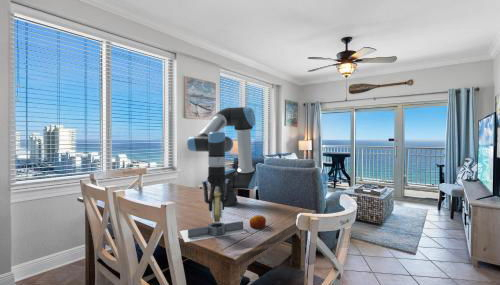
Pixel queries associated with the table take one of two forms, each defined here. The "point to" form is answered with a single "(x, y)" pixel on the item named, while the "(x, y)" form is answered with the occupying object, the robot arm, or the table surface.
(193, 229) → the gray bar with ring
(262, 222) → the fruit
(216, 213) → the pin
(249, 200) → the table surface
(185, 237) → the board
